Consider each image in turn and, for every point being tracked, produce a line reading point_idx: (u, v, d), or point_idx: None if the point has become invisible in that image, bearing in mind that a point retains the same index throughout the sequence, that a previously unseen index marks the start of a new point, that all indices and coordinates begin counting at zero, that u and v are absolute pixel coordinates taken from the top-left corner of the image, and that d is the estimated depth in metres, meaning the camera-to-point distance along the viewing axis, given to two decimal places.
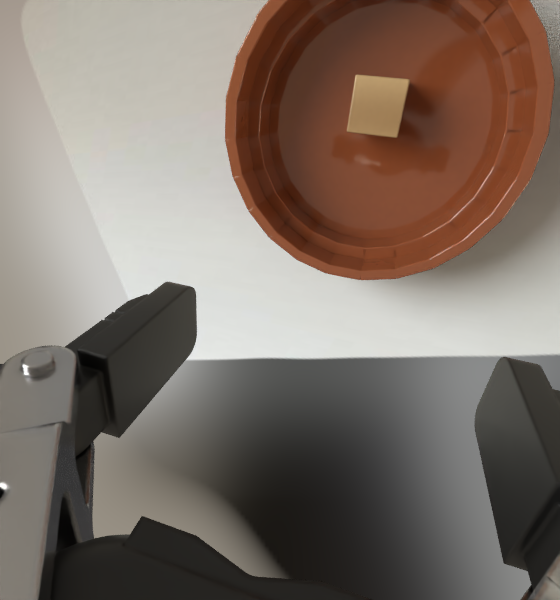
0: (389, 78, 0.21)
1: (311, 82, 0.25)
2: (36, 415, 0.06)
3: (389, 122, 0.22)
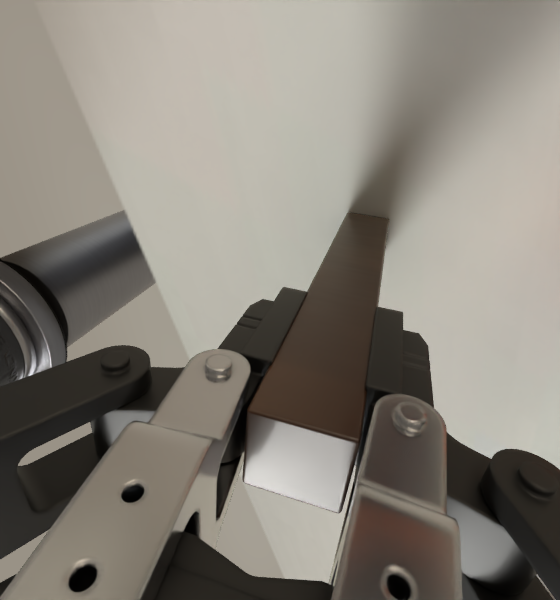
0: None
1: None
2: (199, 418, 0.06)
3: None
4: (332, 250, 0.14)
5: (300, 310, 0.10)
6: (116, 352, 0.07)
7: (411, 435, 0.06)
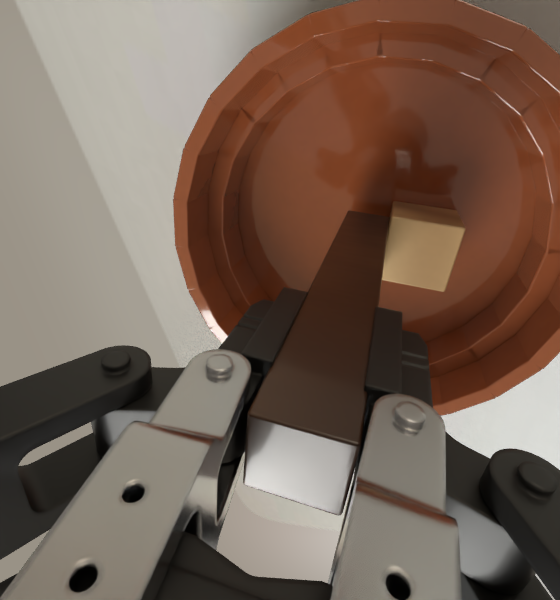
0: (387, 240, 0.17)
1: None
2: (200, 419, 0.06)
3: (442, 239, 0.16)
4: (333, 250, 0.14)
5: (300, 311, 0.10)
6: (117, 352, 0.07)
7: (410, 435, 0.06)
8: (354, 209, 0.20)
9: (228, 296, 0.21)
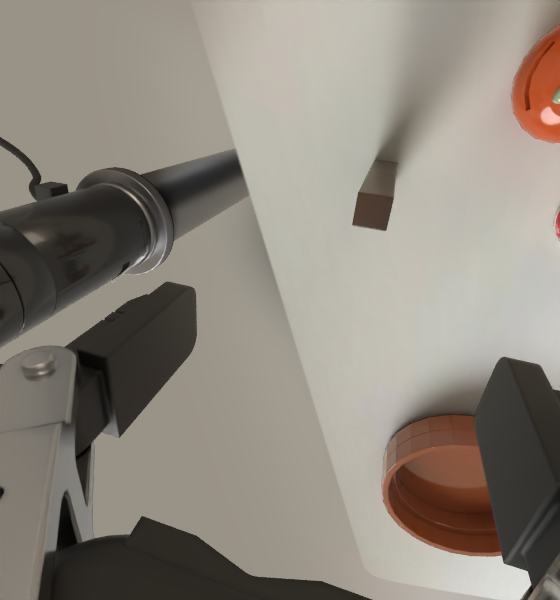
0: None
1: (427, 490, 0.49)
2: (36, 415, 0.06)
3: None
4: (371, 169, 0.29)
5: (365, 180, 0.25)
6: None
7: None
8: (452, 464, 0.46)
9: (393, 494, 0.47)
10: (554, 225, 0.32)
